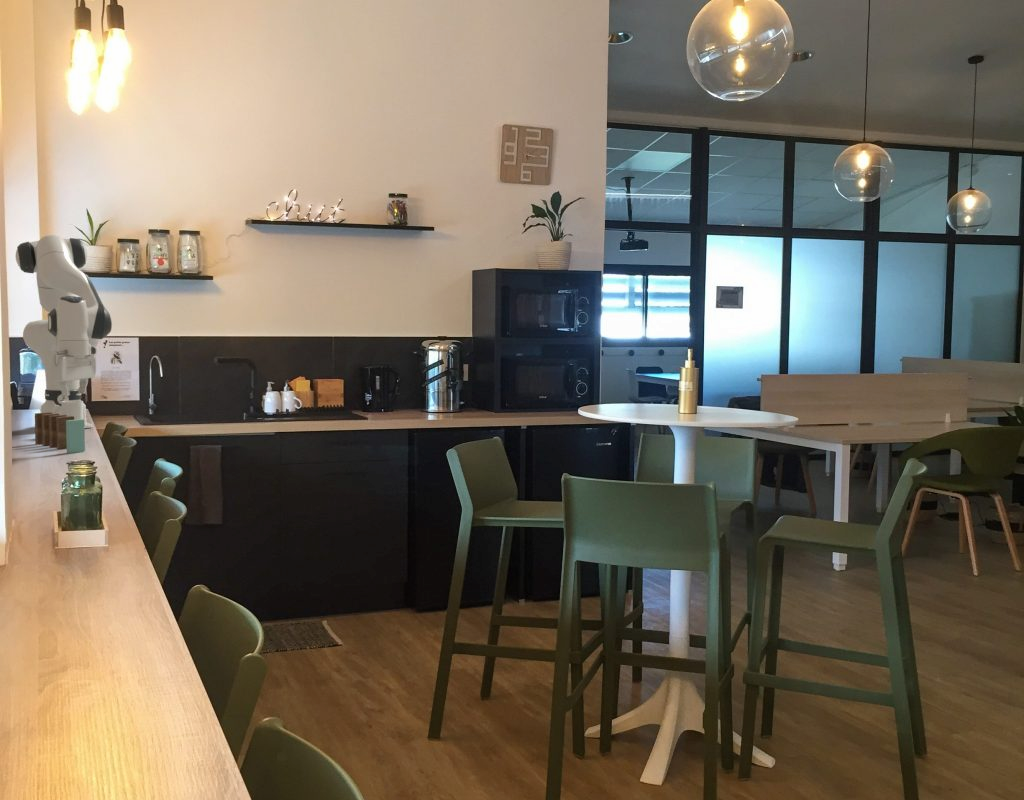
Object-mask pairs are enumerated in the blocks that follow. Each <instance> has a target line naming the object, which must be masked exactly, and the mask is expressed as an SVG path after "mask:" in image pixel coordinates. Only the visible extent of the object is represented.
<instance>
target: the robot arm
mask: <svg viewBox="0 0 1024 800" xmlns="http://www.w3.org/2000/svg"><path fill="white" fill-rule="evenodd" d="M16 247H17V249H16V250H15V251H16V252H15V261H16V264H17V266H18V267H19V268H20V270H21V271H22V272H23V273H27V274H34V273H35V274H36V275H35V276H36V286H37V292H38V300H39V304H40V306H41V308H42V309H43V310H44V311H46V312H48V313H47V319H40V320H39V319H38V320H33V321H29V322H28V323H27V324H26V325H25V327H24V329H23V332H22V337H23V341H24V344H26V346H27V347H28V348H29V349H31V350H32V351H33V352H34V353H35V354H36V355H37V356H38V358H39V359H40V360H41V362H42V365H43V368H44V373H45V376H44V377H45V387H46V389H44V399H45V401H44V403H43V404H42V405H40V411H39V413H47V412H51V413H52V411H53V409H54V406H55V405H59V406H62V401H68V400H80V401H82V400H81V399H82V394H83V395H84V394H86V392H87V386H88V385H89V384H88V383H89V379H93V378H95V377H96V374H97V357H96V355H97V354H98V350H97V346H98V344H99V342H100V340H103V339H104V338H106V337H107V336H108V335H109V334H110V333H111V332H112V325H113V324H112V322H113V321H112V318H111V314H110V312H109V311H108V309H107V308H106V307H105V306H104V303H103V302H102V299H101V298H100V296H99V293H98V292H97V290H96V288H95V287H96V286H94V283H93V282H92V280H91V278H90V276H89V275H88V274H86V273H85V272H84V271H82V270H80V269H81V268H83V267H84V266H85V265H86V262H87V260H88V250H87V248H86V245H84V242H82V240H80V239H79V238H73V237H70V238H63V237H61V236H59V235H55V234H47V235H44V236H42V237H41V238H40V239H39V240H34V241H30V242H29V241H25V242H22V243H20V244H18V246H16ZM86 407H87V406H86V404H85V403H84V402H83V420H84V429H90V428H93V424H91V423H89V422H87V417H88V416H87V408H86ZM55 414H59V415H62V410H61V409H58V410H57V411H56V412H55Z"/></svg>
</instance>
